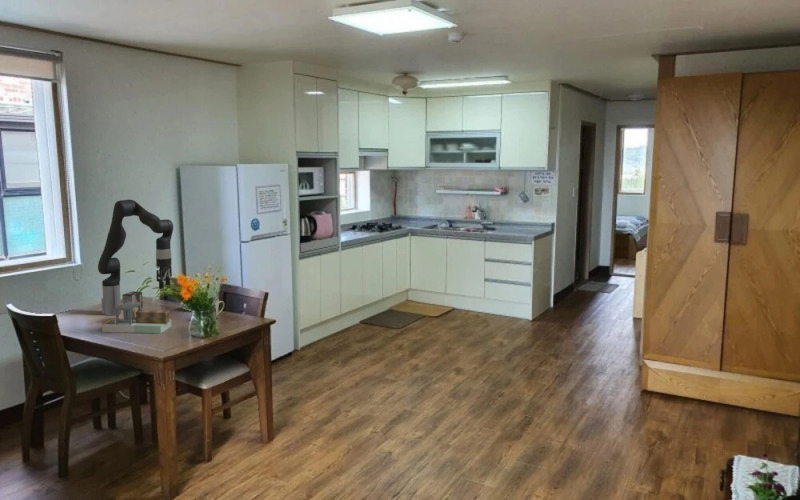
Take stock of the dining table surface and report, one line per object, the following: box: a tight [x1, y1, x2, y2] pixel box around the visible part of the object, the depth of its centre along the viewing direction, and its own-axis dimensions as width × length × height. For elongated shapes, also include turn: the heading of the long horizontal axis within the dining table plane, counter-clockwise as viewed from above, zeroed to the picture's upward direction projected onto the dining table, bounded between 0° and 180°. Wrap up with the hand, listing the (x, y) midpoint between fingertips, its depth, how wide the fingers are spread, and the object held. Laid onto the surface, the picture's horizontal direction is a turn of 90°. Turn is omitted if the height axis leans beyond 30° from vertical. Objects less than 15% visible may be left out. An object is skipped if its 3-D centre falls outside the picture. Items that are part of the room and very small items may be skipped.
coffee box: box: [121, 291, 144, 318], centre depth 328 cm, size 9×6×16 cm
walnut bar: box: [136, 309, 170, 324], centre depth 312 cm, size 16×4×6 cm, turn 89°
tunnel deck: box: [101, 302, 172, 334], centre depth 312 cm, size 31×14×13 cm, turn 90°
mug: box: [215, 297, 225, 317], centre depth 334 cm, size 11×10×12 cm
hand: (164, 287), depth 310 cm, fingers open, 8 cm apart
